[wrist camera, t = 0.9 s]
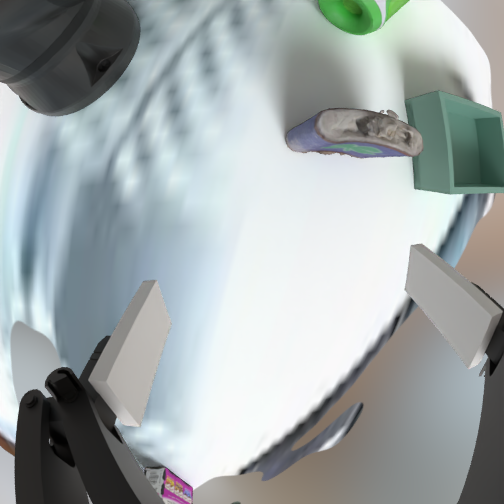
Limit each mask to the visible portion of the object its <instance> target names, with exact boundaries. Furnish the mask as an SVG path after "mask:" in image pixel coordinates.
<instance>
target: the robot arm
mask: <svg viewBox="0 0 504 504" xmlns="http://www.w3.org/2000/svg"><path fill="white" fill-rule="evenodd" d="M139 38H140V24H139V20H138V18H137V16H136V14H135V12H134V10H133V8H132V7H131V5H130V4H129V3H128V2H127V1H126V0H0V82H2V83H5V84H7V85H8V86H9V88H10V89H11V90H12V91H13V92H14V93H16V94H17V95H19V97H20V99H21V101H22V102H23V103H24V104H25V106H26V107H28V108H29V109H31V110H32V111H35V112H37V113H41V114H44V115H48V116H63V115H68V114H71V113H74V112H76V111H79V110H81V109H83V108H84V107H86V106H88V105H90V104H91V103H93V102H94V101H95V100H97V99H98V98H99V97H101V96H102V95H103V94H104V93H105V92H106V91H107V90H108V89H110V88H111V86H112V85H113V84H114V83H115V82H116V81H117V80H118V79H119V78H120V76H121V75H122V74H123V72H124V71H125V70H126V68H127V67H128V65H129V63H130V62H131V60H132V58H133V56H134V54H135V51H136V49H137V46H138V42H139ZM405 291H406V292H407V293H408V294H409V295H410V297H411V298H412V299H413V300H414V301H415V302H416V303H417V305H418V306H419V307H420V308H421V309H422V310H423V312H424V313H425V314H426V315H427V316H428V317H429V319H430V320H431V321H432V323H433V324H434V325H435V326H436V327H437V329H438V330H439V331H440V332H441V334H442V335H443V336H444V337H445V339H446V340H447V341H448V343H449V344H450V345H451V346H452V348H453V349H454V350H455V352H456V353H457V354H458V356H459V357H460V358H461V360H462V361H463V363H464V364H465V365H466V367H467V368H468V369H470V368H472V367H473V366H475V365H477V364H479V363H480V362H481V360H482V358H483V356H484V354H485V353H486V354H487V355H488V359H487V361H486V363H485V364H484V366H483V368H482V370H481V372H480V374H479V376H481V375H482V374H483V372H484V371H485V375H484V377H485V385H484V396H483V405H482V412H481V419H480V425H479V430H478V436H477V441H476V445H475V449H474V454H473V458H472V461H471V465H470V469H469V472H468V475H467V478H466V482H465V485H464V488H463V491H462V493H461V496H460V499H459V501H458V503H457V504H504V308H502V307H501V306H500V305H499V304H498V303H497V302H496V301H495V300H494V299H492V298H490V296H489V295H488V294H487V293H485V291H484V290H483V289H481V288H480V287H479V286H478V285H476V284H474V283H472V282H470V281H468V280H467V279H466V278H465V277H464V276H462V275H461V274H460V273H459V272H458V271H456V270H455V269H454V268H453V267H452V266H450V265H449V264H448V263H446V262H445V261H444V260H443V259H441V258H440V257H439V256H437V255H436V254H435V253H434V252H432V251H431V250H430V249H428V248H427V247H425V246H424V245H423V244H416V245H411V247H410V256H409V264H408V272H407V278H406V285H405ZM171 325H172V323H171V320H170V317H169V315H168V312H167V309H166V306H165V303H164V300H163V297H162V294H161V291H160V288H159V285H158V282H157V280H150V281H143V283H142V284H141V286H140V287H139V289H138V291H137V292H136V294H135V296H134V297H133V299H132V301H131V302H130V304H129V306H128V307H127V309H126V311H125V312H124V314H123V316H122V318H121V319H120V321H119V323H118V325H117V326H116V328H115V330H114V332H113V334H112V335H111V336H106V337H105V338H103V339H102V340H101V341H100V342H99V343H98V345H97V347H96V348H95V350H94V353H93V354H92V355H91V357H90V360H89V361H88V363H87V365H86V366H85V368H84V370H83V372H82V374H81V376H80V378H79V380H78V378H77V377H76V375H75V374H74V372H73V371H72V369H70V368H68V367H61V368H58V369H56V370H54V371H53V372H52V373H51V374H50V375H49V376H48V377H47V379H46V381H45V388H46V389H47V390H48V391H49V393H50V394H51V395H52V396H53V397H49V398H46V397H45V396H44V395H43V394H42V392H41V391H39V390H37V389H36V390H31V391H28V392H27V393H26V394H25V395H24V396H23V398H22V399H21V402H20V407H19V414H18V421H17V431H16V443H15V494H16V504H89V501H88V496H87V493H88V495H89V497H90V499H91V501H92V503H93V504H165V503H164V501H163V500H162V499H161V497H160V496H159V495H158V493H157V492H156V490H155V489H154V488H153V486H152V485H151V483H150V482H149V480H148V479H147V477H146V476H145V474H144V473H143V471H142V470H141V468H140V466H139V465H138V463H137V462H136V460H135V458H134V457H133V455H132V453H131V451H130V450H129V448H128V446H127V444H126V443H125V441H124V439H123V437H122V435H121V433H120V431H119V430H118V428H117V427H116V426H115V421H116V418H118V419H119V420H120V421H121V422H122V424H123V425H128V426H136V427H141V423H142V419H143V416H144V412H145V409H146V405H147V401H148V398H149V395H150V391H151V388H152V384H153V381H154V378H155V374H156V371H157V368H158V365H159V361H160V358H161V355H162V352H163V349H164V346H165V343H166V340H167V337H168V334H169V331H170V328H171ZM49 439H50V444H49Z"/></svg>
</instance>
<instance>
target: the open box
mask: <svg viewBox="0 0 504 504" xmlns="http://www.w3.org/2000/svg"><path fill="white" fill-rule="evenodd" d="M405 105H406V111H407V117H408V123H409V125H410V126H412V127H414V128H415V129H417V130H418V131H419V132H420V134H421V136H422V139H423V147H424V148H423V151H422V152H421V153H420V155H418V156H414V157H413V168H414V184H415V189H418V190H425V191H432V192H439V193H445V194H474V193H504V128H503V121H502V116H501V113H500V112H498V111H496V110H493V109H491V108H489V107H486V106H484V105H481V104H478V103H476V102H473V101H470V100H467V99H464V98H461V97H458V96H455V95H452V94H449V93H445V92H442V91H435V92H431V93H428V94H424V95H421V96H418V97H415V98H411V99H408V100H405Z"/></svg>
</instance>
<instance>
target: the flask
mask: <svg viewBox="0 0 504 504" xmlns="http://www.w3.org/2000/svg"><path fill="white" fill-rule="evenodd" d="M382 113H384V110H381V111H380V112H379V113H377V112H374V111H368V110H361V109H348V108H334V109H330V108H329V109H327V110H323V111H321V112H320V113H318V114H317V115H315V116H313V117H312V118H310V119H308V120H307V121H305V122H304V123H302V124H300V125H298V126H297V127H295V128H293V129H292V130H290V131H289V132H288V133H287V136H286V142H287V146H288V147H289V148H290V149H291V150H292V151H295V152H302V153H307V152H310V151H311V152H318V153H320V154H325V155H326V154H329V155H330V154H332V153H333V154H334V153H340V155H344V154H348V155H350V156H351V157H357V158H369V157H393V156H397V157H400V156H409V157H414V156H418V155H420V153H421V152H422V151H423V148H424V147H423V139H422V136H421V134H420V132H419V131H418V130H417V129H415V128H414V127H412V126H410V125H408V124H406V123H404V122H402V121H400V120H398V115H397V114H396V113H395V112H393V111H391V110H387V113H388V115H386V114H382Z"/></svg>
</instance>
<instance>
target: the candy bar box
mask: <svg viewBox="0 0 504 504" xmlns="http://www.w3.org/2000/svg"><path fill="white" fill-rule="evenodd" d="M144 474H145V476H146V477H147V479H148V480H149V482H150V483H151V485H152V486H153V488H154V489H155V490H156V492H157V493H158V495H159V496H160V497H161V499H162V500H163V501H164V503H165V504H192V496H193V488H192V487H191V486H190V485H188V484H187V483H185V482H184V481H183V480H181V479H180V478H179V477H177V476H176V475H175V474H173V473H172V472H171V471H169V470H168V469H167V468H165V467H156V468H155V467H153V468H145V473H144Z"/></svg>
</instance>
